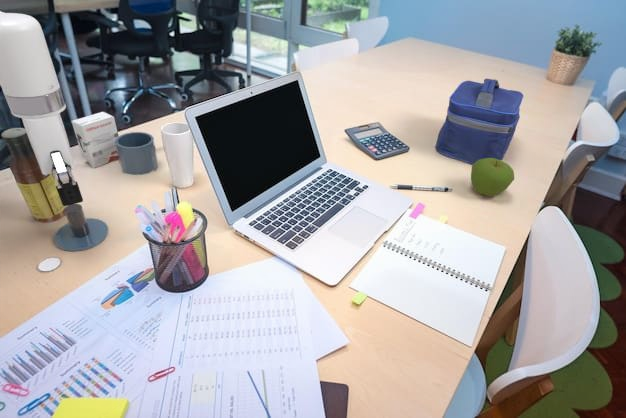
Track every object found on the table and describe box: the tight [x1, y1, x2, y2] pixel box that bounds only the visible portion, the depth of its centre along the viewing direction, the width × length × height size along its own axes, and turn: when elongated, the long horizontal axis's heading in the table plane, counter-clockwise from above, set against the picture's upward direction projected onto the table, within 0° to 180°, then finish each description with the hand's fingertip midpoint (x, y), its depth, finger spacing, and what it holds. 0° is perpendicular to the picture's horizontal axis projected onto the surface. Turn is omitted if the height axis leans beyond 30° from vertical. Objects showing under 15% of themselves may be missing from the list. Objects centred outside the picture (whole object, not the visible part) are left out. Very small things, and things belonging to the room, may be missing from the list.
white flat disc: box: [36, 256, 63, 274], centre depth 72 cm, size 4×4×1 cm
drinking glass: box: [160, 121, 195, 189], centre depth 93 cm, size 7×7×15 cm
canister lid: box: [53, 203, 109, 252], centre depth 77 cm, size 10×10×7 cm
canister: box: [115, 131, 159, 176], centre depth 99 cm, size 9×9×8 cm
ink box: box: [71, 111, 120, 169], centre depth 100 cm, size 9×5×12 cm, turn 144°
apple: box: [470, 158, 515, 197], centre depth 104 cm, size 11×10×10 cm
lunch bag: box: [434, 78, 524, 165], centre depth 125 cm, size 31×21×20 cm
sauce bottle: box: [1, 127, 67, 223], centre depth 78 cm, size 6×6×20 cm
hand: (68, 189), depth 72 cm, fingers open, 9 cm apart
